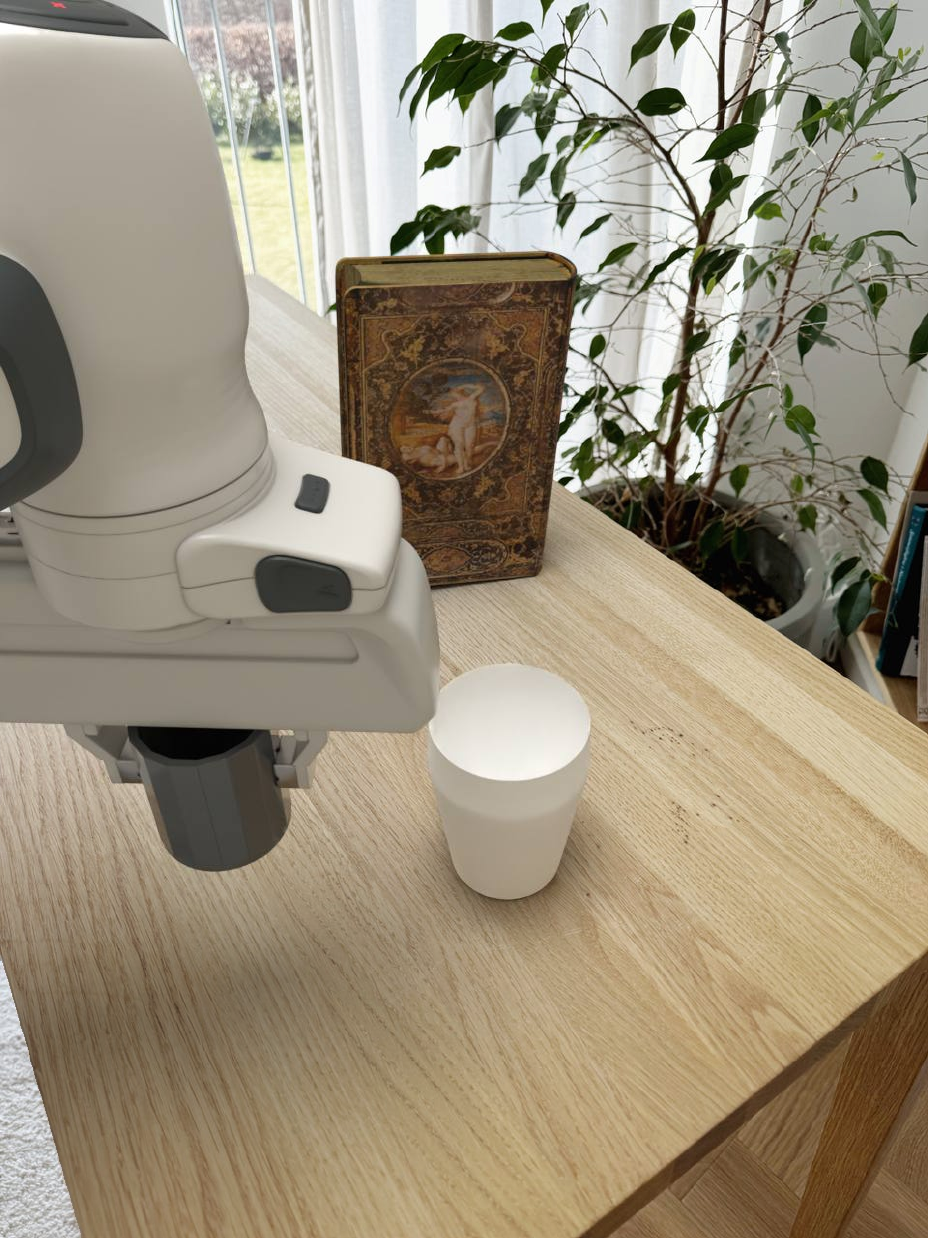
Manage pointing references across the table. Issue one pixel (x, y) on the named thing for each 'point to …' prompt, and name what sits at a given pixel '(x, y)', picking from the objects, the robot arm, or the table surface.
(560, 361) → the book
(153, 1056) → the table surface
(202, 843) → the grey tumbler
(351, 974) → the table surface
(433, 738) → the cup
